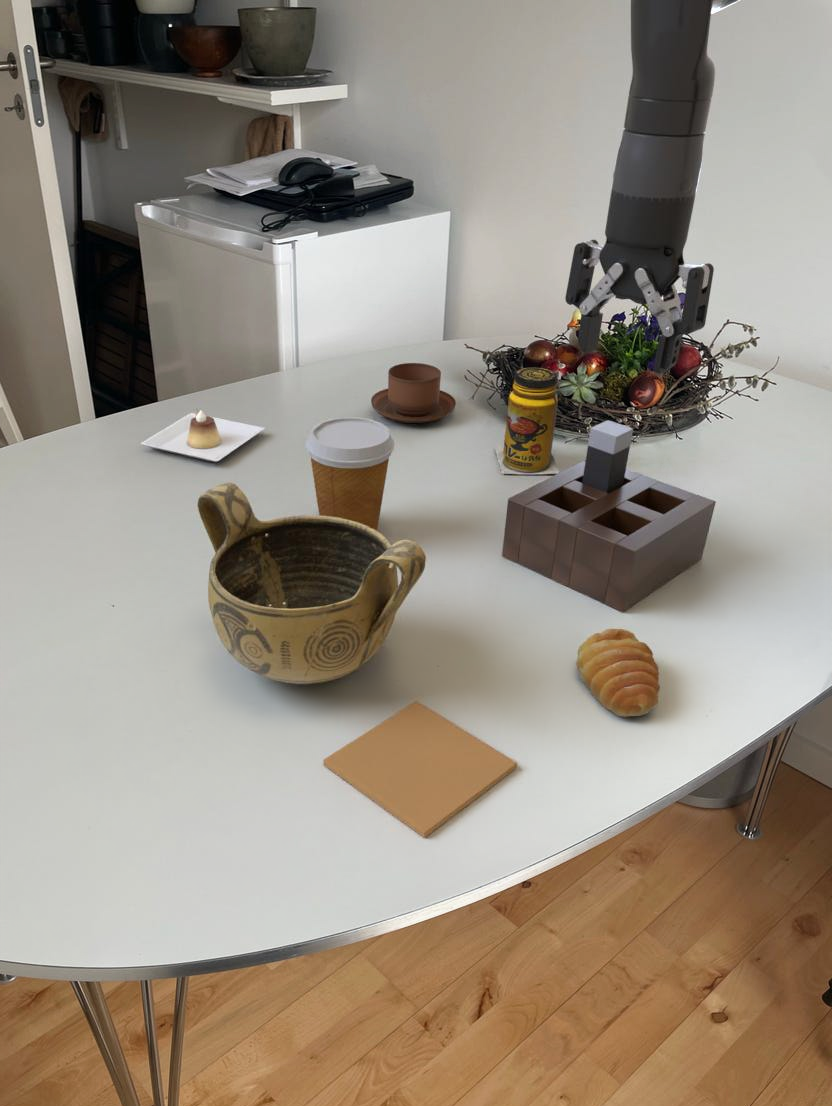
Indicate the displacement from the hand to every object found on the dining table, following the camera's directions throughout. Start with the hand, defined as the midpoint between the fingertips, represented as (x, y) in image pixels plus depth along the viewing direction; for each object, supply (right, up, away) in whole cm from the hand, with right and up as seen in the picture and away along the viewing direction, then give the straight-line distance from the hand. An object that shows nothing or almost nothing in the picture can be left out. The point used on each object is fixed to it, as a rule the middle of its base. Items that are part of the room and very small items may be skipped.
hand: (623, 361), depth 98 cm
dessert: (-47, -2, +32) cm, 57 cm away
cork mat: (-22, -38, -20) cm, 48 cm away
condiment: (-5, -5, +28) cm, 29 cm away
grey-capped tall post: (0, -17, +12) cm, 20 cm away
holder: (0, -19, +8) cm, 21 cm away
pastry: (-3, -32, -11) cm, 34 cm away
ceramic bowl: (-32, -30, -8) cm, 45 cm away
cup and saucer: (-19, +4, +41) cm, 45 cm away
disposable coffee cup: (-28, -16, +12) cm, 34 cm away
